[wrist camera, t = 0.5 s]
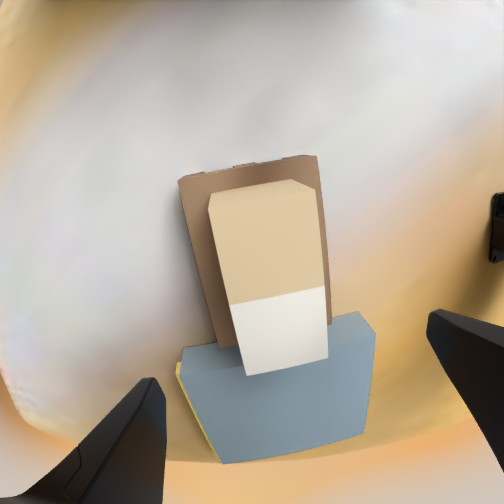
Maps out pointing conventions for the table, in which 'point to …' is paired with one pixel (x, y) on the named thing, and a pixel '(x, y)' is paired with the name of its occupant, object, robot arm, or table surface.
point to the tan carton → (267, 240)
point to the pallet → (200, 230)
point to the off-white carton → (282, 330)
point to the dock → (280, 396)
